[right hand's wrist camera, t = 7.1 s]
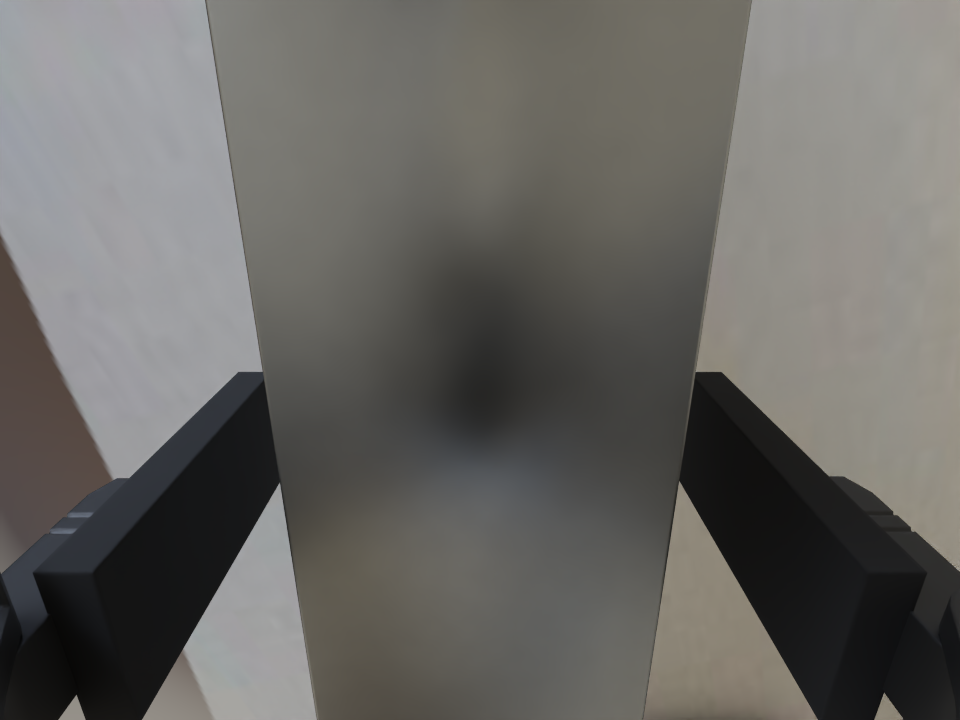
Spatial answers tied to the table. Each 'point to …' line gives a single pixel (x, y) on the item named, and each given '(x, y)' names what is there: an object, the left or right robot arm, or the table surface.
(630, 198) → the bar
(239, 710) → the table surface
